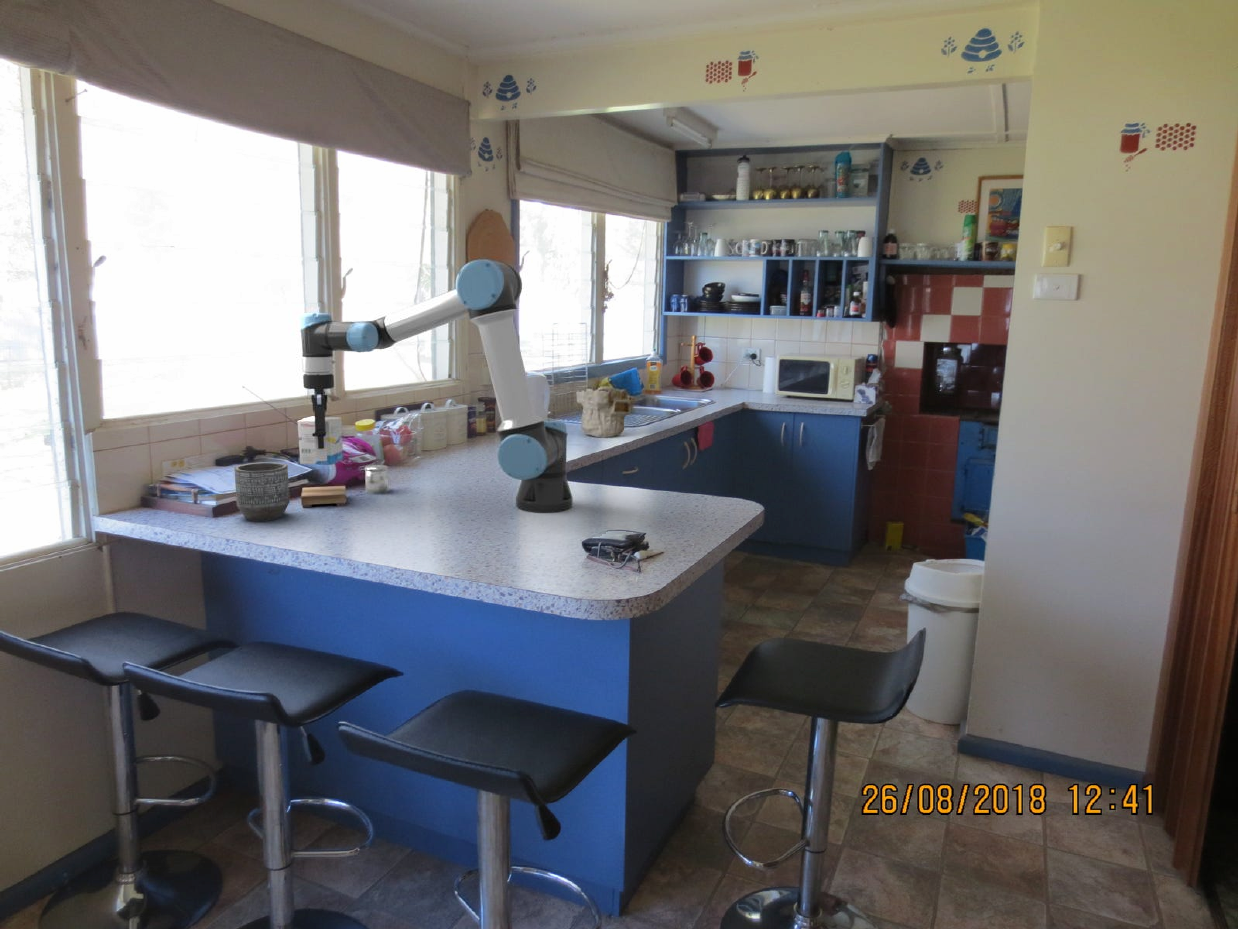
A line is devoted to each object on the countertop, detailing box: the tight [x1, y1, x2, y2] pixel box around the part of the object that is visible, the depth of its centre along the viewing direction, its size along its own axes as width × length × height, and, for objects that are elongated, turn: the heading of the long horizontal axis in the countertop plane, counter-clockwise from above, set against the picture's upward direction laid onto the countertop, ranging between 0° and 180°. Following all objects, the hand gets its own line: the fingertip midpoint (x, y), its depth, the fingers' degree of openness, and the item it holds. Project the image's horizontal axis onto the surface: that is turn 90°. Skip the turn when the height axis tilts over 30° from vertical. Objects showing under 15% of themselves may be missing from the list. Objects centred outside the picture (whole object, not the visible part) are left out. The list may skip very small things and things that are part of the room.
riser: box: [300, 485, 347, 508], centre depth 230 cm, size 11×11×3 cm
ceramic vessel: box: [576, 385, 636, 439], centre depth 353 cm, size 23×24×25 cm
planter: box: [234, 461, 290, 522], centre depth 213 cm, size 12×12×13 cm
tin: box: [364, 464, 389, 495], centre depth 243 cm, size 6×6×7 cm
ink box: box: [297, 415, 344, 466], centre depth 227 cm, size 9×8×12 cm
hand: (321, 456), depth 228 cm, fingers closed on ink box, 10 cm apart
